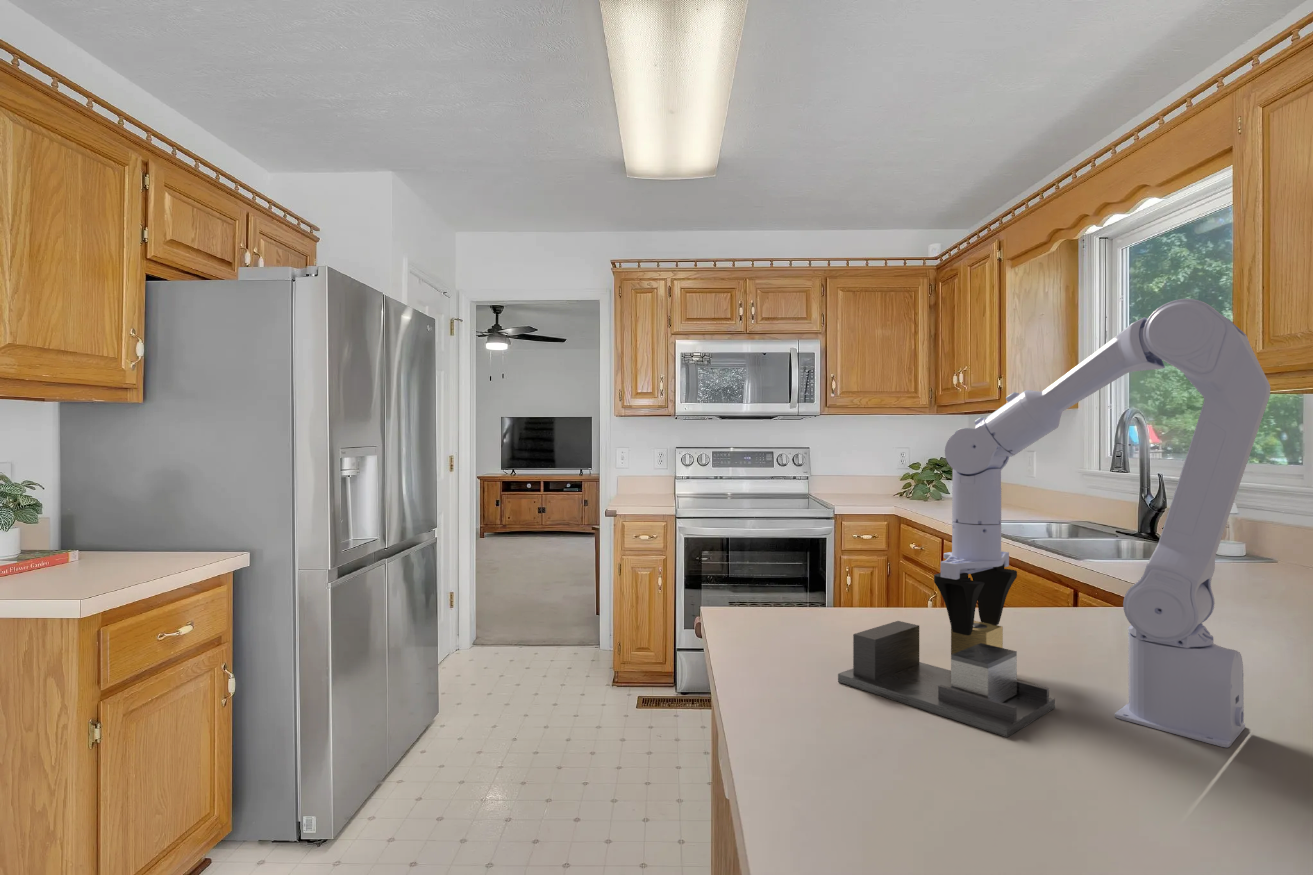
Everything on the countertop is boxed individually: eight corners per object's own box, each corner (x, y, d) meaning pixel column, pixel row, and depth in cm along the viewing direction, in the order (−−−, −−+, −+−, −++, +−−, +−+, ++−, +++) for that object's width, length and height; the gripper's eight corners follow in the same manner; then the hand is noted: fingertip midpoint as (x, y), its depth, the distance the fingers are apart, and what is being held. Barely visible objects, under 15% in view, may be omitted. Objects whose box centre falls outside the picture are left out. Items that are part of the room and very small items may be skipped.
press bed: (1054, 707, 74) (1054, 653, 74) (1007, 737, 67) (1006, 676, 67) (891, 661, 90) (891, 617, 90) (838, 681, 82) (838, 632, 82)
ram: (1016, 694, 75) (1016, 651, 75) (988, 709, 71) (987, 664, 71) (980, 684, 78) (980, 642, 78) (951, 698, 74) (951, 654, 74)
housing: (1002, 673, 86) (1002, 626, 86) (986, 681, 83) (986, 632, 83) (967, 664, 89) (967, 618, 89) (951, 671, 86) (951, 624, 86)
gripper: (972, 516, 94) (971, 613, 94) (917, 523, 85) (917, 630, 85) (1025, 520, 88) (1025, 623, 88) (973, 529, 79) (972, 644, 79)
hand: (976, 628), depth 86 cm, fingers open, 7 cm apart
